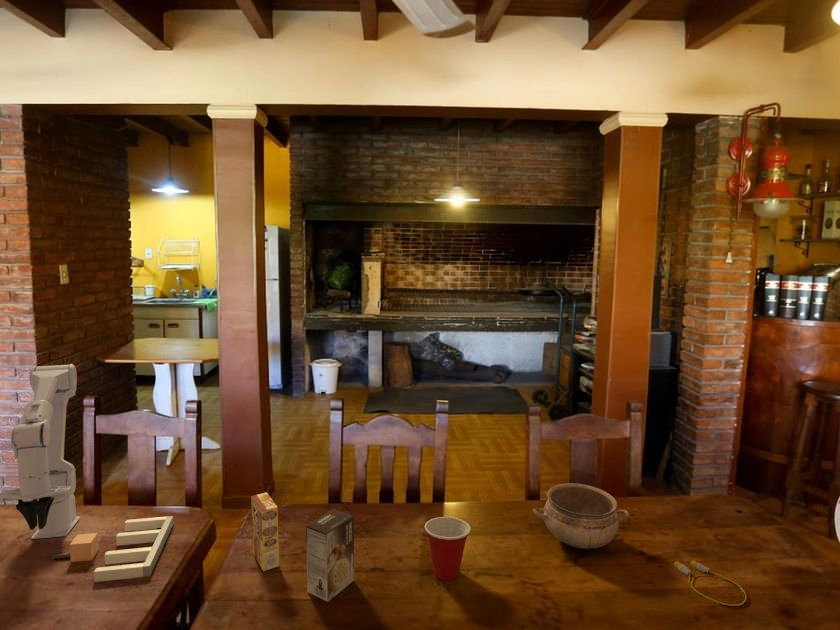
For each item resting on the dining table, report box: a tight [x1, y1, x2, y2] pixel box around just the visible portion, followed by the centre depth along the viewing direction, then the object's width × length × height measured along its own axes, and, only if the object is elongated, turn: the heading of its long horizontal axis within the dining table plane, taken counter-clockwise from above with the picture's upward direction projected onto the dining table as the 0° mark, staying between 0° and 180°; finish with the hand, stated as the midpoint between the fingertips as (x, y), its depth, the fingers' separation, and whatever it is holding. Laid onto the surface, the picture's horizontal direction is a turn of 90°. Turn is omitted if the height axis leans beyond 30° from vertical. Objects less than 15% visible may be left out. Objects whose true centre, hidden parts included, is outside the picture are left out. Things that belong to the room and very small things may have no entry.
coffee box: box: [305, 508, 355, 603], centre depth 118 cm, size 9×6×16 cm
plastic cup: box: [423, 516, 471, 581], centre depth 124 cm, size 11×11×12 cm
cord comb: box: [93, 515, 174, 583], centre depth 131 cm, size 23×12×2 cm, turn 13°
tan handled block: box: [51, 532, 100, 563], centre depth 127 cm, size 4×9×4 cm, turn 103°
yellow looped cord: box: [673, 559, 748, 607], centre depth 122 cm, size 12×16×2 cm
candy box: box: [250, 491, 280, 572], centre depth 127 cm, size 9×4×15 cm, turn 33°
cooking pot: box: [532, 482, 630, 550], centre depth 138 cm, size 25×19×12 cm
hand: (38, 527), depth 125 cm, fingers closed
